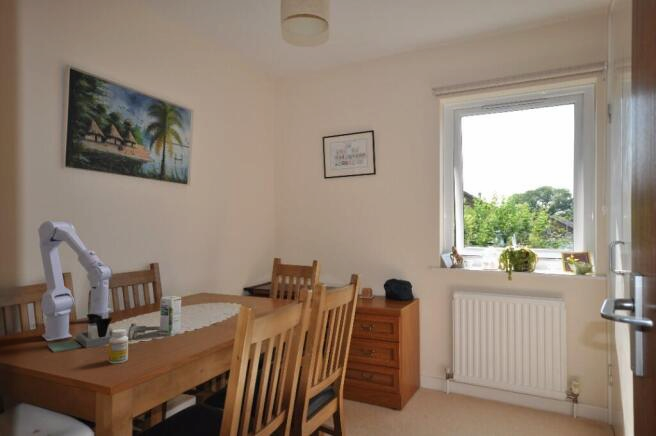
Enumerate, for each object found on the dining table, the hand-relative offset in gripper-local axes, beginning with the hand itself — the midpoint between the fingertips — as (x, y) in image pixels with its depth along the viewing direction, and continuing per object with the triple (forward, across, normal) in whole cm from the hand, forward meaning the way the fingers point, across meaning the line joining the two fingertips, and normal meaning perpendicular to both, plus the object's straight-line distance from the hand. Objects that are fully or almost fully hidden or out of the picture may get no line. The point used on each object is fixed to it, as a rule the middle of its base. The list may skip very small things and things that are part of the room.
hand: (98, 334), depth 151 cm
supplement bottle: (+3, -28, +2) cm, 28 cm away
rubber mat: (+2, 0, +11) cm, 11 cm away
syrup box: (+2, -7, -24) cm, 25 cm away
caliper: (+3, -3, -18) cm, 18 cm away
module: (+2, 0, 0) cm, 2 cm away
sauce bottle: (+2, +33, -8) cm, 34 cm away
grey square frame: (+2, 0, 0) cm, 2 cm away
